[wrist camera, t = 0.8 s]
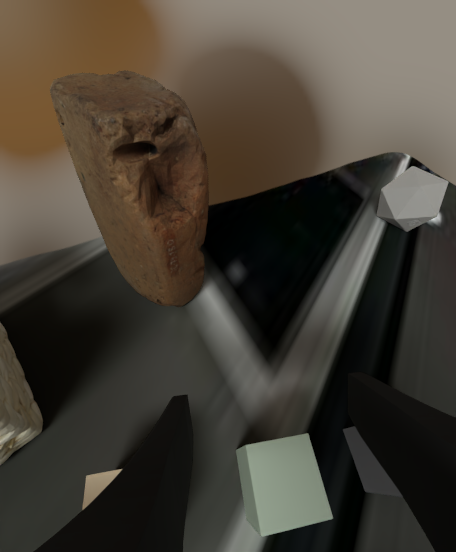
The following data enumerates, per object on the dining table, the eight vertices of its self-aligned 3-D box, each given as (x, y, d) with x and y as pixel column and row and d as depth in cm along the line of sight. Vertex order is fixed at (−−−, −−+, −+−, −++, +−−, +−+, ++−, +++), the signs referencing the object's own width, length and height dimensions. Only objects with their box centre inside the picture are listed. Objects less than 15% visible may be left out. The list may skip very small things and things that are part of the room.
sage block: (302, 506, 21) (333, 518, 16) (246, 520, 20) (261, 536, 15) (285, 440, 23) (308, 433, 18) (236, 449, 23) (245, 445, 18)
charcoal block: (412, 480, 22) (471, 483, 17) (364, 491, 22) (412, 498, 17) (385, 421, 25) (430, 409, 20) (342, 429, 24) (378, 419, 19)
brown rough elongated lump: (111, 266, 33) (24, 70, 16) (161, 238, 36) (130, 53, 20) (164, 327, 28) (117, 144, 12) (215, 288, 32) (230, 107, 16)
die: (384, 245, 40) (464, 213, 34) (358, 194, 40) (434, 153, 33) (391, 233, 46) (460, 205, 40) (369, 190, 46) (434, 154, 39)
